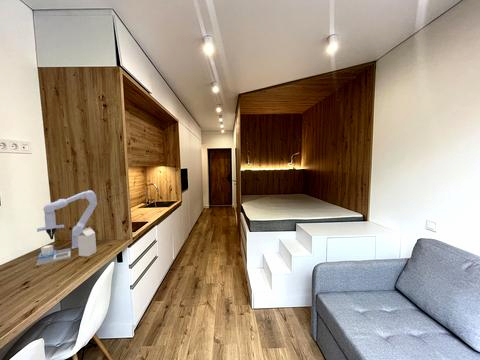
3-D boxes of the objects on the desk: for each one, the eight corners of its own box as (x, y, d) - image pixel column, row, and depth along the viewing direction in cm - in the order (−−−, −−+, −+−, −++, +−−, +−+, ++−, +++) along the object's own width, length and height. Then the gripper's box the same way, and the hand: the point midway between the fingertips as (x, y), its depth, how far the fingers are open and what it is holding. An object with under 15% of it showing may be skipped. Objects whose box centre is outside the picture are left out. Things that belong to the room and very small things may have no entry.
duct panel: (71, 248, 158) (70, 246, 158) (70, 258, 142) (70, 256, 141) (40, 254, 147) (39, 252, 147) (35, 266, 131) (35, 263, 131)
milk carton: (96, 252, 151) (94, 227, 149) (88, 257, 144) (86, 230, 142) (87, 252, 152) (85, 226, 150) (79, 256, 145) (77, 230, 143)
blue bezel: (56, 250, 153) (56, 249, 153) (55, 255, 144) (55, 254, 144) (40, 254, 147) (40, 252, 147) (38, 259, 139) (38, 257, 139)
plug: (53, 253, 148) (53, 245, 148) (48, 256, 144) (48, 247, 143) (46, 253, 148) (46, 245, 147) (41, 256, 143) (41, 248, 143)
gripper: (63, 217, 159) (65, 235, 160) (37, 221, 149) (38, 239, 151) (63, 219, 153) (64, 237, 154) (35, 223, 144) (37, 242, 145)
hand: (52, 239), depth 152 cm, fingers closed
